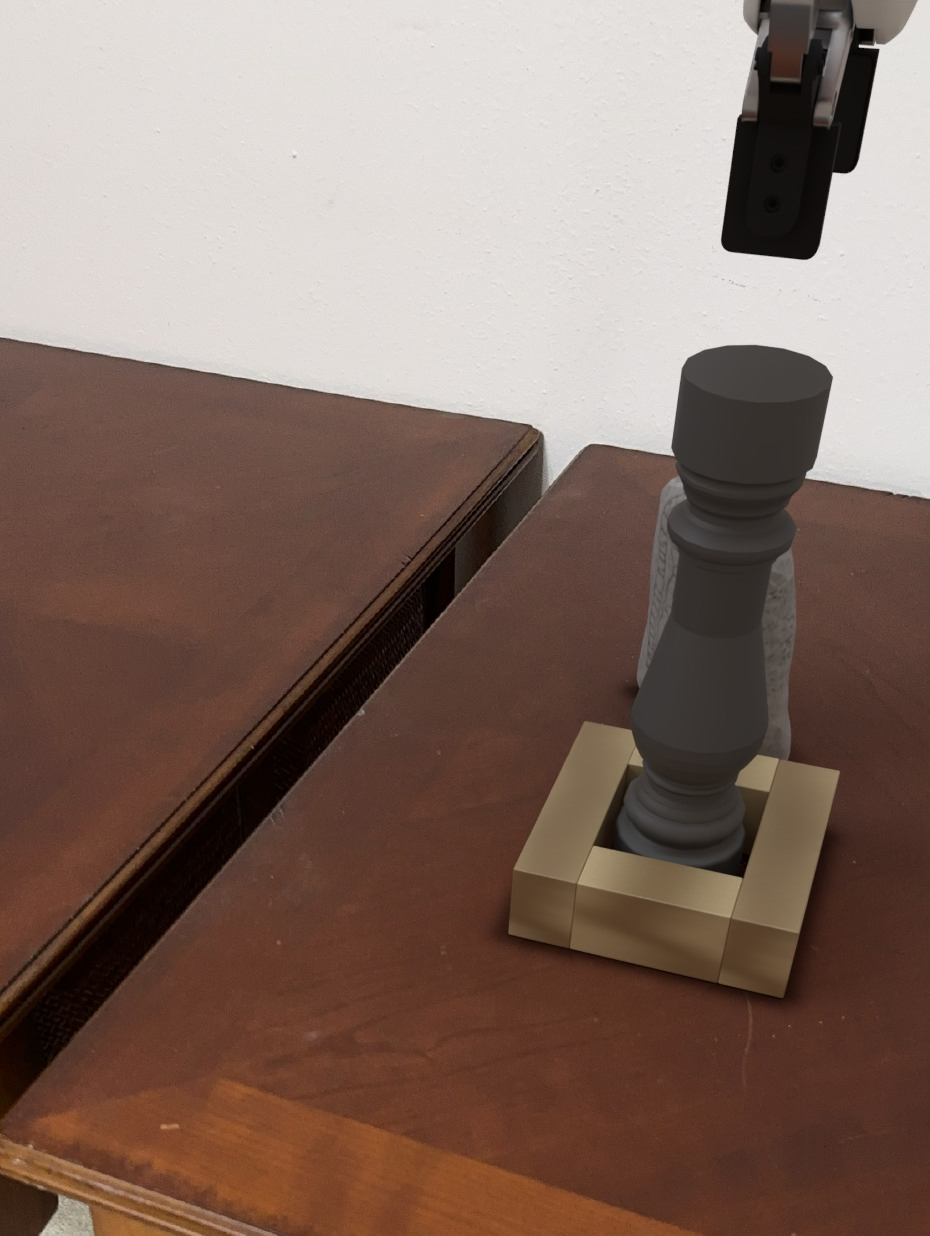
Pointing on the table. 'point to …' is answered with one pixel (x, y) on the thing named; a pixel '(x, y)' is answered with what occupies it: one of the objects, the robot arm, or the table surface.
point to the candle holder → (719, 598)
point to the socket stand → (672, 872)
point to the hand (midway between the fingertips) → (791, 208)
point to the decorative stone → (774, 621)
